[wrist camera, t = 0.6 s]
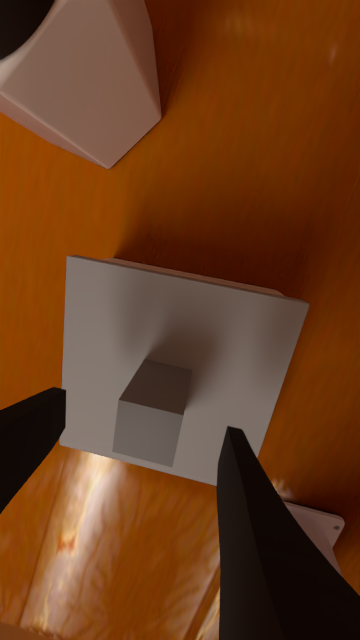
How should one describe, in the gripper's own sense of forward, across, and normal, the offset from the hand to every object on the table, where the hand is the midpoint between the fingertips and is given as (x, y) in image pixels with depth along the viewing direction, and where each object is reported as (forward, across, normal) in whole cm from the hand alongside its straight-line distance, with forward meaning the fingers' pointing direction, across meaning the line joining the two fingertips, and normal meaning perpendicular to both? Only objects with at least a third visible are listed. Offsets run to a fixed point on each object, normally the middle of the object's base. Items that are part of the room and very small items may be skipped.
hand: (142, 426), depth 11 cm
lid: (+5, 0, 0) cm, 5 cm away
